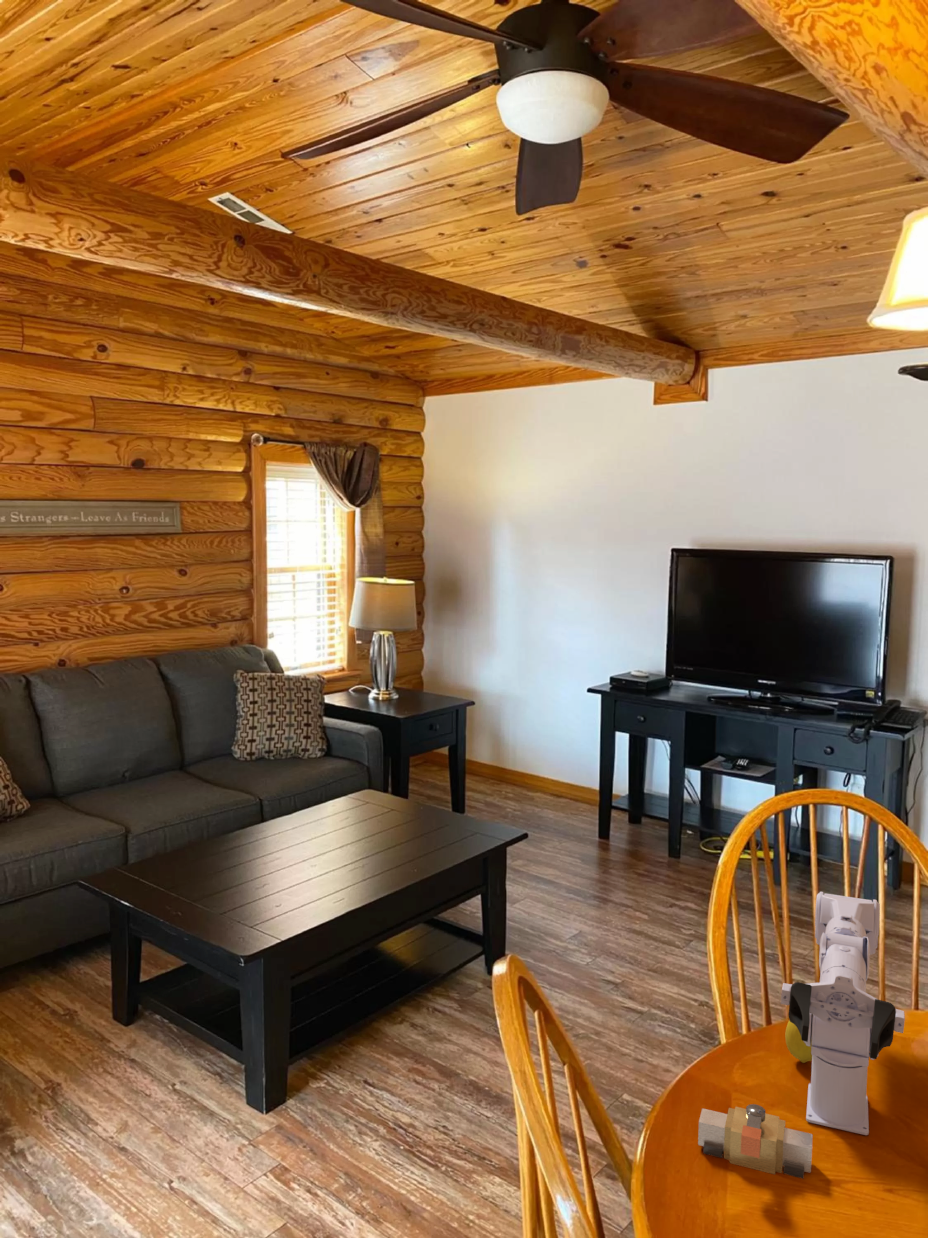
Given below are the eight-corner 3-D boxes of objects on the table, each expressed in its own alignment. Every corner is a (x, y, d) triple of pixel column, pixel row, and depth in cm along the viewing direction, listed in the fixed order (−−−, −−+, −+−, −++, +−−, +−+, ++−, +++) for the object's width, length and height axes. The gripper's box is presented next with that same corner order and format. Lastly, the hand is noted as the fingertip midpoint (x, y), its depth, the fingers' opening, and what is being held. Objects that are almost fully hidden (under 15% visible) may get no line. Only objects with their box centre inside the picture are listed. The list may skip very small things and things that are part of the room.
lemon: (823, 1075, 140) (825, 1024, 140) (784, 1069, 142) (787, 1018, 141) (820, 1056, 146) (823, 1007, 145) (783, 1050, 147) (785, 1001, 146)
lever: (746, 1115, 123) (747, 1097, 123) (765, 1119, 122) (766, 1102, 122) (739, 1153, 115) (740, 1135, 115) (760, 1158, 114) (760, 1140, 114)
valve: (702, 1130, 127) (703, 1095, 126) (811, 1156, 122) (813, 1120, 121) (696, 1154, 122) (697, 1118, 121) (810, 1183, 116) (811, 1146, 116)
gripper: (787, 946, 126) (778, 996, 113) (905, 972, 120) (909, 1027, 108) (783, 994, 127) (773, 1049, 114) (899, 1022, 121) (903, 1083, 109)
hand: (839, 1042), depth 111 cm, fingers open, 7 cm apart
